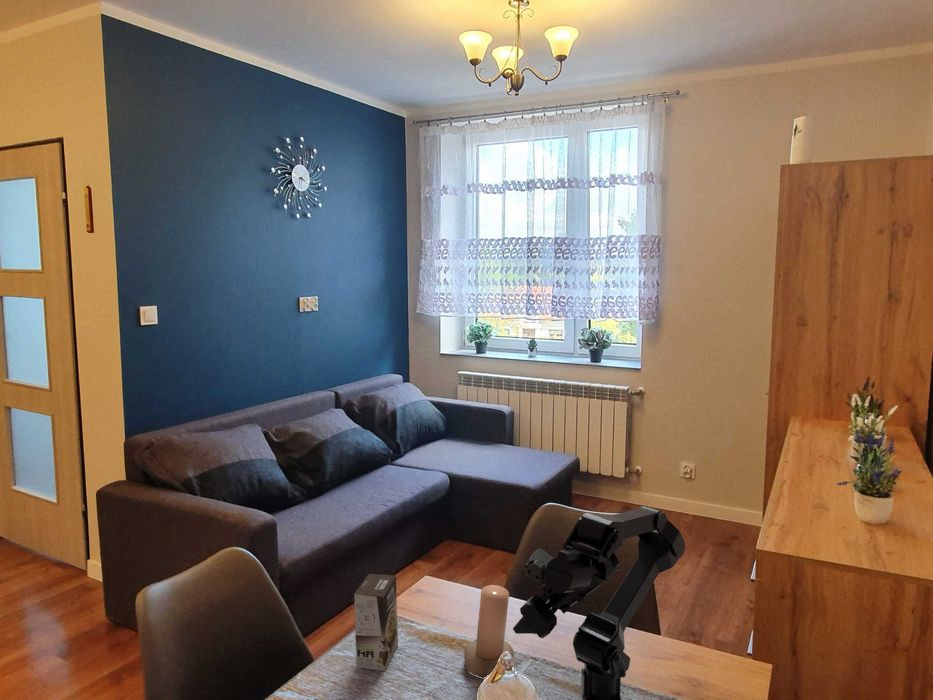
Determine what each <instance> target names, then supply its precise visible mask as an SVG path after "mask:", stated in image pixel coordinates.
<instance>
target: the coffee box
mask: <svg viewBox="0 0 933 700" xmlns="http://www.w3.org/2000/svg"><path fill="white" fill-rule="evenodd" d="M353 595H354V596H353V597H354V603H353V604H354V628H355V634H354V635H355V655H356V656H355V660H356V661H355V664H356V668H358V669H366V670H367V669H368V670H374V671H379V672H380V671H381V672H384V671H386V669H387V667H388V666H389V664H390V662H391V660H392V658H393V656H394V654H395V652H396V650H397V649H398V647H399V635H398V634H399V631H398V630H399V628H398V604H397V603H398V598H397V597H398V596H397V595H398V594H397V576H396V575H392V574H391V575H390V574H373V573H368V574H367V575H366V577H364V579H363V581H362V583H361V584H360V586H358V588H357V590H356V591H355V592H354V594H353Z"/></svg>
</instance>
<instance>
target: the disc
mask: <svg viewBox="0 0 933 700" xmlns="http://www.w3.org/2000/svg"><path fill="white" fill-rule="evenodd" d="M476 640H477V639H474V640H472V641H471V642H469V643H468V644H467V645H466V646H465V649H464V655H463V656H464V659H463V660H464V662H463V663H465V664H464V668H465V667H466V669H467V670H468V671H469V672H471V673H472V674H474V675H477V676H479V677H482V678H484V677H486V676H487V675H489V674H490V673H491V672H492V671H493V669H494V668H495V666H496V664H497V661H498V659H499V658H498V659H495V660H487V659H484V658H482V657H480V656H479V655H478V654H477V653H476ZM505 651H509V652H511V654H512V657H513V658H514V649H513V647H512V645H510V643H508V642H507V641H505V640H504V648H503V652H505ZM466 669H465V670H466ZM467 670H466V671H467Z"/></svg>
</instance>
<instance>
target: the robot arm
mask: <svg viewBox="0 0 933 700" xmlns="http://www.w3.org/2000/svg"><path fill="white" fill-rule="evenodd" d="M634 537H637V538H638V541H637V553H638V555H637V556H638V557H637V558H636V559H635V561H634V563H633V564H632V566H631V567H630V569H629V571H628V572H627V574H626V575H625V576H624V579H623V580H622V581H621V583H620V585H619V586H618V588H617V590H616V591H615V593H614V594H613V596H612V597H611V599H610V601H608V604H607V605H606V607H605V608H604V609H603V611H602V612H601V613H600V614H595V613H593V612H590V613H589V614H587V615H586V617H585V619H584V621H583V622H582V624H581V625H580V626H579V627H578V628H577V630H578V631H576V633H575V635H573V636H574V637H573V640H572V646H573V650H574V654H575V657H576V661H577V662H581V663H583V664H584V666H583V667H582V668H581V679H580V680H581V681H580V682H581V683H580V688H581V692H582V695H583V697H584V698H585V700H623V699H622V696H621V686H622V684H621V680H622V679H621V678H625V677H626V675H627V671H628V670H629V667H630V664H631V657H630V656H629V655H628V654H627V653H625V652H624V650H625V630H626V629H627V627H628V625H629V624H630V622H631V620H632V619H633V617H634V615H635V614H636V612H637V610H638V608H639V607H640V606H641V604H642V602H643V601H644V599H645V597H646V595H647V594H648V592H649V590H651V587H652V586H653V584H654V583H655V580H656V579H657V577H658V576H659V574H660V573H663V572H665V571H667V570H671V569H672V568H673V567H674V566H675V565H676V563H677V562H678V561H679V559H680V558H682V556H683V555H684V553H685V550H686V543H685V539H684V537H683V535H682V533H681V531H680V530H679V528H677V527H676V526H675V525H674V524H673V523H672V522H671V521H670V520H669V519H668V517H667V514H666V513H665V512H663V511H662V510H660V509H656V508H653V507H649V506H646V505H643V506H639V507H638V508H635V509H631V510H627V511H624V512H619V513H616V514H611V515H608V514H603V513H598V512H585V513H583V514H582V515H581V517H580V518H578V520H577V521H576V523H575V524H574V526H573V528H572V530H571V532H570V533H569V535H568V537H567V538H566V540H565V542H564V543H563V545H562V549H563V550H561V549H560V550H558V552H557V557H554V556H552V555H551V554H550V553H548V552H547V551H545V550H544V549H541V548H537V549H536V551H535V550H534V552H533V553H532V554H531V555H530V557H529V558H528V561H527V562H526V563H525V564H524V572H525V574H526V576H527V577H529V578H530V579H531V580H533V581H534V582H535V583H536V582H537V583H542V584H543V585H542V586H540V588H541V589H542V590H543V592H542V594H541V595H540V596H539V595H532V596H531V597H529V599H528V600H526V601H525V602H524V604H523V605H522V606H521V607H519V611H520V614H521V615H522V616H521V618H520V619H519V620H518V622H517V623H516V624H515V625H514V626H513V628H512V630H513V632H514V633H515V634H518V635H519V634H530V635H533V634H534V635H537V636H538V638H540V639H544V638H546V637H547V636H549V635H550V634H551V633H552V631H553V630H554V628H555V627H556V626H557V625H558V618H557V615H556V613H557V612H558V610H560V611H561V613H562V614H565V613H567V612H568V611H569V610H570V608H571V607H572V606H573V605H574V604H577V603H578V604H579V603H581V602H583V601H584V600H585V599H586V597H587V595H589V594H590V593H592V592H593V591H595V590H596V589H597V588H599V587H600V586H602V585H603V584H604V583H606V582H607V581H609V580H610V579H611V578H612V577H613V574H614V573H618V572H619V571H620V564H621V562H620V560H619V558H618V557H617V554H616V553H615V551H618V550H619V549H620V548H623V541H625V540H627V539H631V538H634Z"/></svg>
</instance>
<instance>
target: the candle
mask: <svg viewBox="0 0 933 700" xmlns="http://www.w3.org/2000/svg"><path fill="white" fill-rule="evenodd" d="M509 599H510V593H509V591H508V590H507V588H505V587H503V586H501V585H498V584H497V585H496V584H491V585H486V586H484V587H482V588H481V591H480V599H479V611H478V622H477V630H476V631H477V633H476V639H475V640H476V653H477V654H478V655H479V656H480V657H482V658H484V659H487V660H495V659H498V658H499V657H500V655H501V654H502V653H503V648H504V641H505V637H506V629H507V627H506V626H507V618H508V606H509Z"/></svg>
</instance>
